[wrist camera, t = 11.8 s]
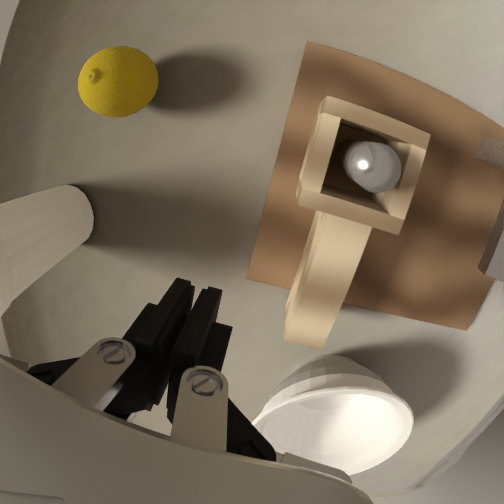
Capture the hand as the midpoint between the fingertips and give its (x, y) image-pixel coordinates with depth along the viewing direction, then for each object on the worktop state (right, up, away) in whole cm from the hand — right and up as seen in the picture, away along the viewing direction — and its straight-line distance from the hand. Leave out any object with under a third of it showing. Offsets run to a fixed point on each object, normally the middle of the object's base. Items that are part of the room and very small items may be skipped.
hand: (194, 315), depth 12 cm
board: (+16, +7, +12) cm, 21 cm away
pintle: (+10, +10, +10) cm, 17 cm away
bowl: (+11, -12, +20) cm, 26 cm away
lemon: (-7, +16, +11) cm, 21 cm away
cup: (-16, +6, +16) cm, 23 cm away
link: (+9, +5, +12) cm, 16 cm away
